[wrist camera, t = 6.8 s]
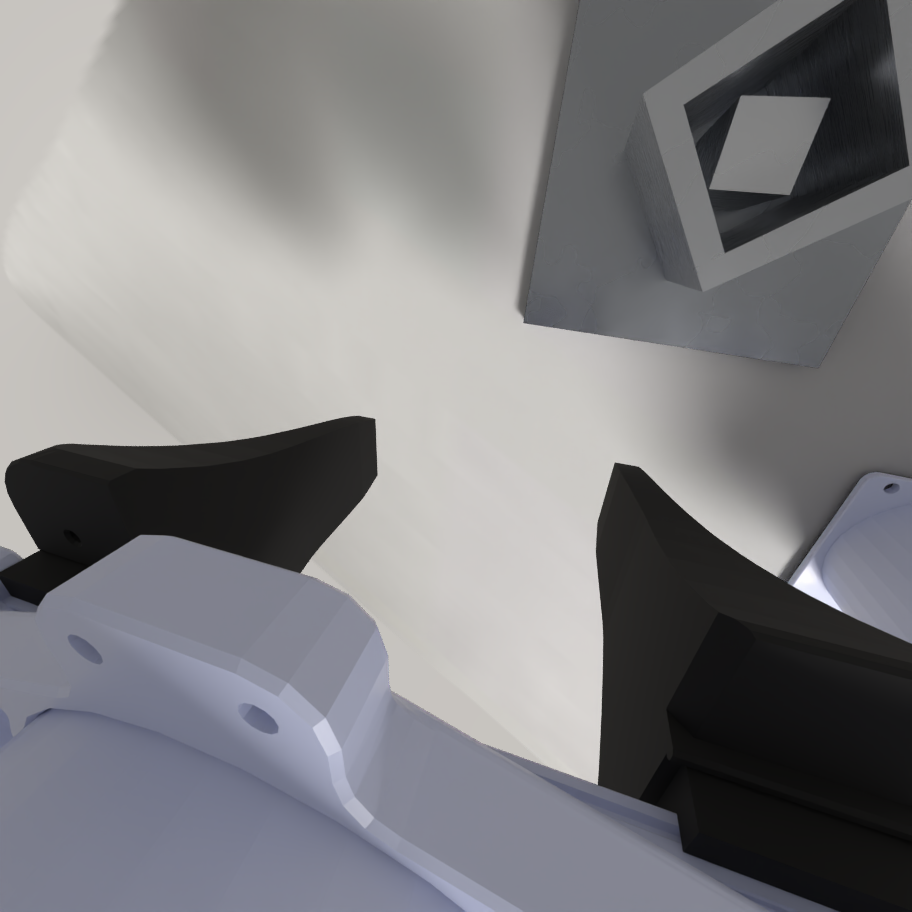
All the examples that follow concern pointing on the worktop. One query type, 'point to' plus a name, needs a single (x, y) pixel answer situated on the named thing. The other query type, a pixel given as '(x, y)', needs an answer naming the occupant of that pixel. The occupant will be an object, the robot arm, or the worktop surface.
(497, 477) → the worktop surface
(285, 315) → the worktop surface
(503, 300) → the worktop surface
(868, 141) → the sleeve
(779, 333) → the duct flange
